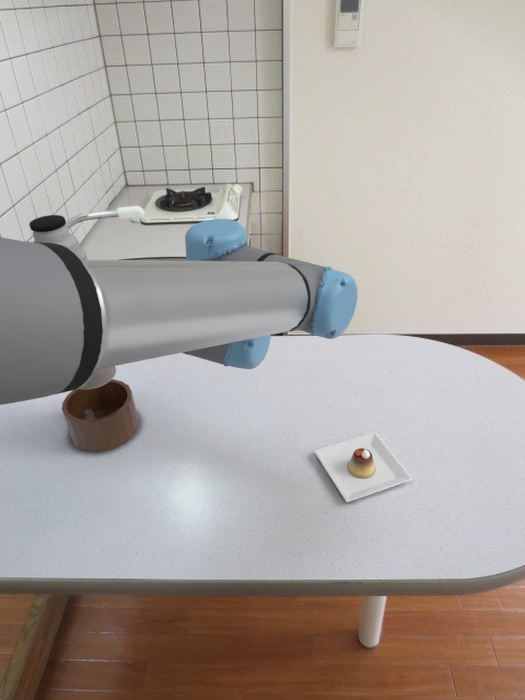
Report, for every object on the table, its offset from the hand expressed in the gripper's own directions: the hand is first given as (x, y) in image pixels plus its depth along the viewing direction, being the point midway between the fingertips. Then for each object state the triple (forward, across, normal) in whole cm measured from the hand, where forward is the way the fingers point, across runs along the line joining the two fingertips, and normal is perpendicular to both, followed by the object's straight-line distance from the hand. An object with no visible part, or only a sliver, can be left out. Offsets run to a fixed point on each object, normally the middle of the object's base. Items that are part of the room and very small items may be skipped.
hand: (48, 293), depth 84 cm
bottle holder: (-4, 0, -28) cm, 28 cm away
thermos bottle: (-5, 0, -15) cm, 16 cm away
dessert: (-51, +10, -28) cm, 59 cm away
